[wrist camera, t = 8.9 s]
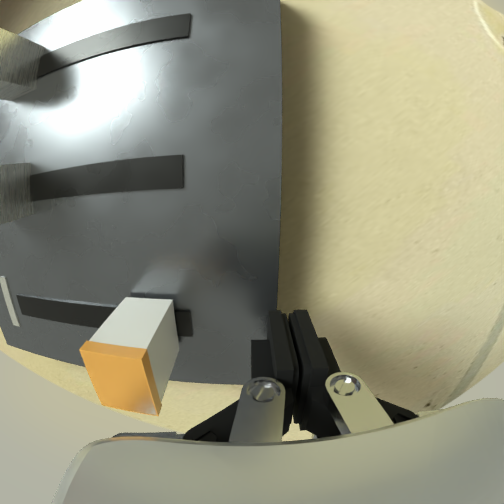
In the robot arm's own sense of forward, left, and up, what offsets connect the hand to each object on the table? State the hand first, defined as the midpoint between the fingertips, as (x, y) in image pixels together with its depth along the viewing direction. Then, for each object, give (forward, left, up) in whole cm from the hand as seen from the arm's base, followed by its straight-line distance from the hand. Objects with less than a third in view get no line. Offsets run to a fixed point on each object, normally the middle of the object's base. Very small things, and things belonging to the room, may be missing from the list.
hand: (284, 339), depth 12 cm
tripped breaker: (+6, 0, -1) cm, 6 cm away
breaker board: (+10, -7, -4) cm, 13 cm away
